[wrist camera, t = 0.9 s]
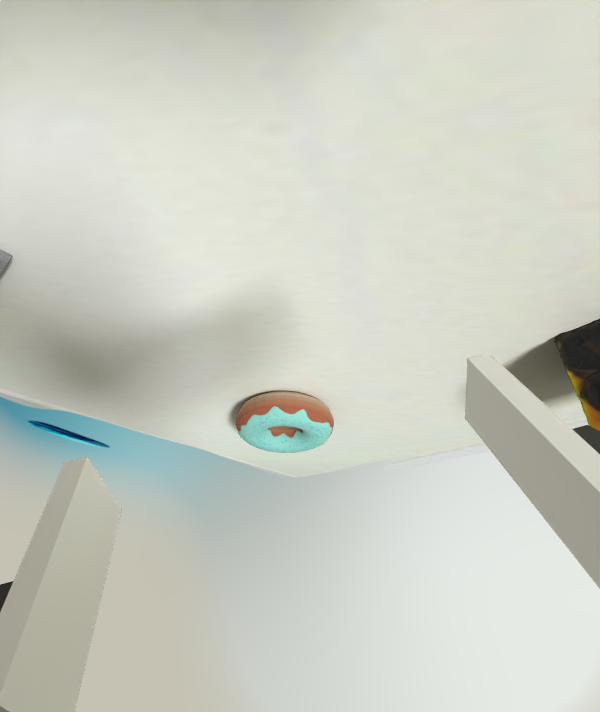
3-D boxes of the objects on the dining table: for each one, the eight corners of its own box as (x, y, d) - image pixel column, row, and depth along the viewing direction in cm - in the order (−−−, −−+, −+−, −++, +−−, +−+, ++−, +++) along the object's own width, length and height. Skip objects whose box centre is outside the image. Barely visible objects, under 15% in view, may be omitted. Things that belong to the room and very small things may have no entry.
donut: (351, 398, 50) (353, 429, 47) (307, 435, 59) (307, 463, 56) (257, 374, 46) (254, 407, 43) (225, 418, 55) (221, 447, 52)
